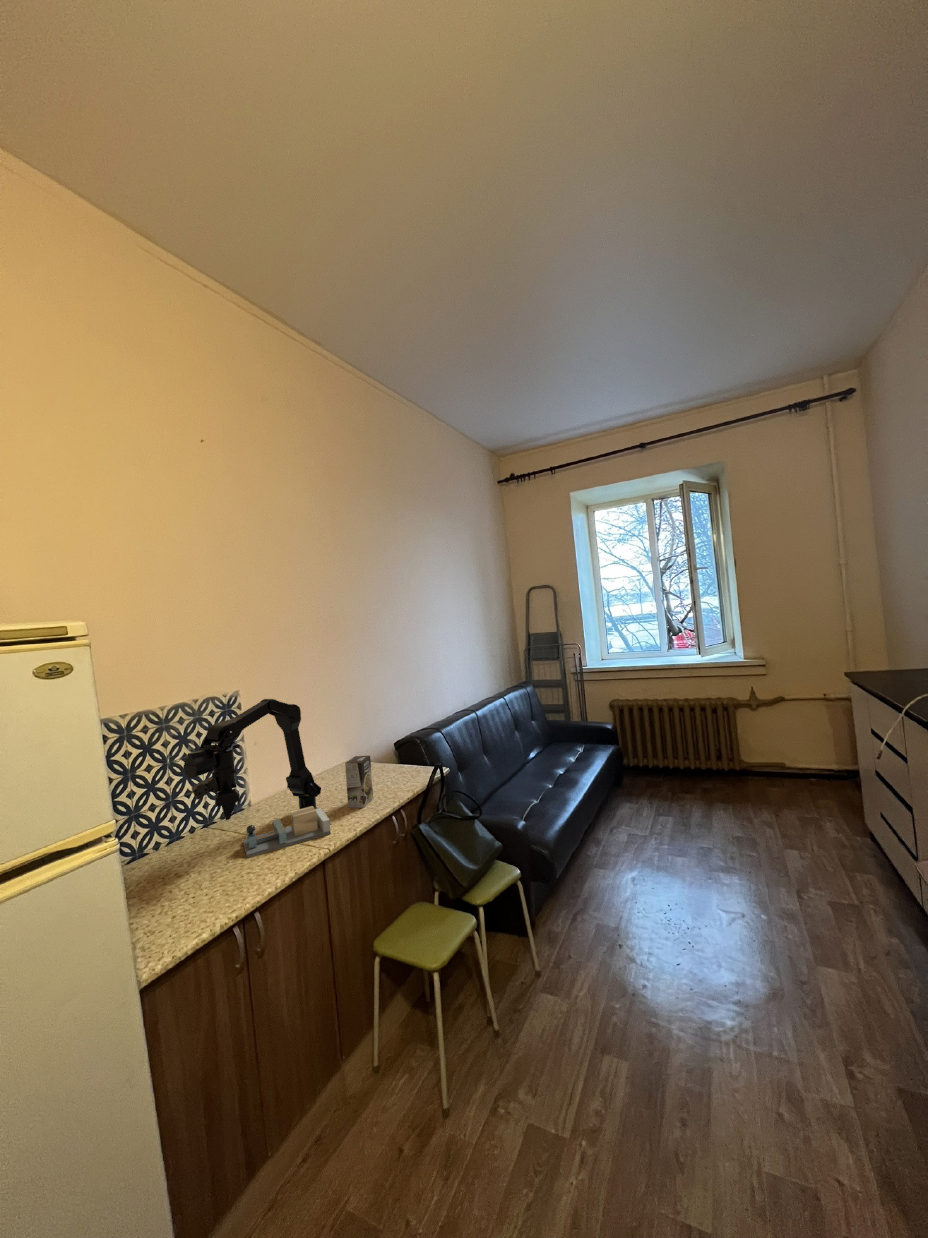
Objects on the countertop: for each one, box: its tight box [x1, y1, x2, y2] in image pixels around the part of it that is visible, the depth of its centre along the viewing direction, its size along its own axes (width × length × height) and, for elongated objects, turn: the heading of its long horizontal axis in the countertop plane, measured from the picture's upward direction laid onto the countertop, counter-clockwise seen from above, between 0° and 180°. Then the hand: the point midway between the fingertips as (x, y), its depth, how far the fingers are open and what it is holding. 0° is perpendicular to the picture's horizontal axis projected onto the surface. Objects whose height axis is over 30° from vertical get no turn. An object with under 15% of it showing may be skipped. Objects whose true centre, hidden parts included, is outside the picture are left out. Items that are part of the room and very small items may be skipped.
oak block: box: [290, 806, 318, 836], centre depth 152 cm, size 5×7×6 cm
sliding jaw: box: [246, 818, 287, 848], centre depth 146 cm, size 12×10×6 cm
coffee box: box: [344, 755, 374, 809], centre depth 175 cm, size 9×6×16 cm
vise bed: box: [242, 807, 331, 859], centre depth 149 cm, size 12×24×4 cm, turn 120°
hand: (227, 819), depth 142 cm, fingers closed
